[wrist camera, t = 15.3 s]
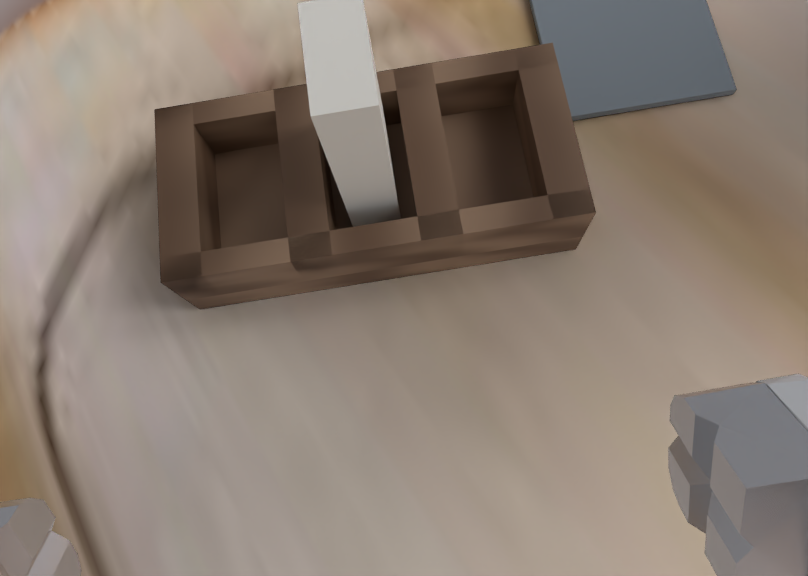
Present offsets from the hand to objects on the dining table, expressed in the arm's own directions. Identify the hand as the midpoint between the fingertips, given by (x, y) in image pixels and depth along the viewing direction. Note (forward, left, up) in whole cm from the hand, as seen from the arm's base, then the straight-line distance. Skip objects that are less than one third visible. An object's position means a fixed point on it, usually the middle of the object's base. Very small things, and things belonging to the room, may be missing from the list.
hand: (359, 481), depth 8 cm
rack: (-2, -12, -18) cm, 22 cm away
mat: (-16, -17, -18) cm, 29 cm away
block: (-2, -12, -16) cm, 21 cm away
